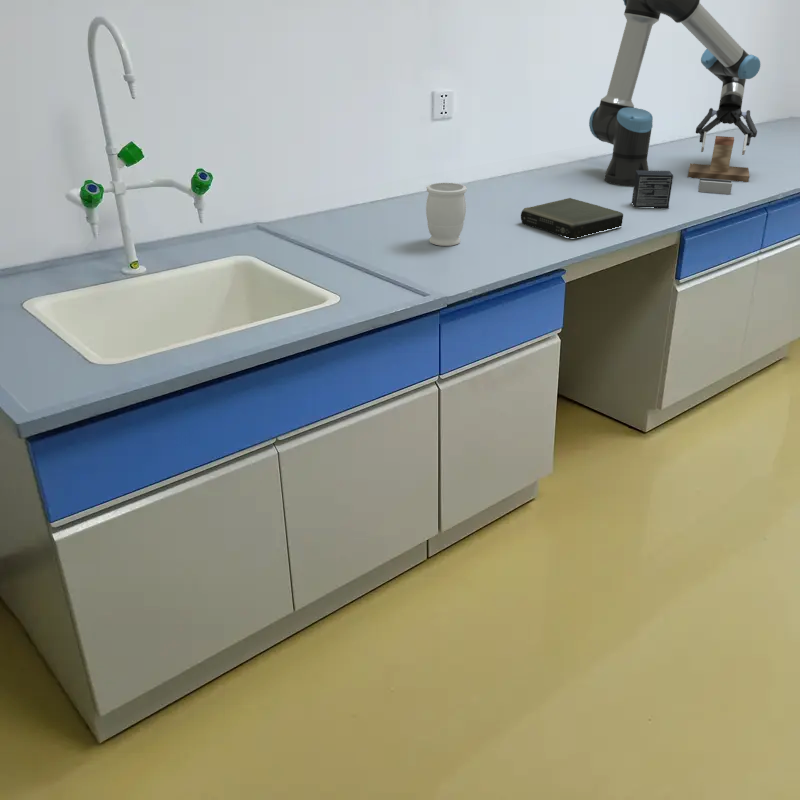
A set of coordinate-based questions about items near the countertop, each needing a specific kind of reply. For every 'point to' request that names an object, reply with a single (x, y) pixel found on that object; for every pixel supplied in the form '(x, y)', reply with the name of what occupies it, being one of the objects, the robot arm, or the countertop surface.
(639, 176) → the small box
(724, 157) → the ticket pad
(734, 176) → the walnut board
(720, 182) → the frame
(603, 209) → the network switch
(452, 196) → the jar
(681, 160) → the countertop surface
